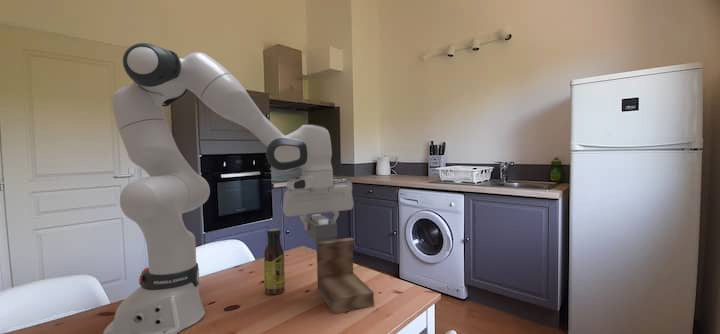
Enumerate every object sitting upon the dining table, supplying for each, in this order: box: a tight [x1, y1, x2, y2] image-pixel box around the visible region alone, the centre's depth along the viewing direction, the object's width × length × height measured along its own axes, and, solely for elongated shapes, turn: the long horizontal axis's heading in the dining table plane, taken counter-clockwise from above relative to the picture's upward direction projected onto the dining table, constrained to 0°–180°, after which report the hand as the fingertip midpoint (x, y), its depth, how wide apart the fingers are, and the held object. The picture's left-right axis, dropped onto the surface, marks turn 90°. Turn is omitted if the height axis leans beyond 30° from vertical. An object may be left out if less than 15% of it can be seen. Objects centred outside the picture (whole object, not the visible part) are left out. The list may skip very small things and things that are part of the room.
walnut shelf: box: [316, 237, 375, 315], centre depth 99 cm, size 12×18×16 cm, turn 21°
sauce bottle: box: [263, 228, 286, 295], centre depth 104 cm, size 6×6×20 cm
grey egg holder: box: [304, 213, 339, 244], centre depth 94 cm, size 6×14×5 cm, turn 21°
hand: (320, 228), depth 94 cm, fingers closed on grey egg holder, 6 cm apart
